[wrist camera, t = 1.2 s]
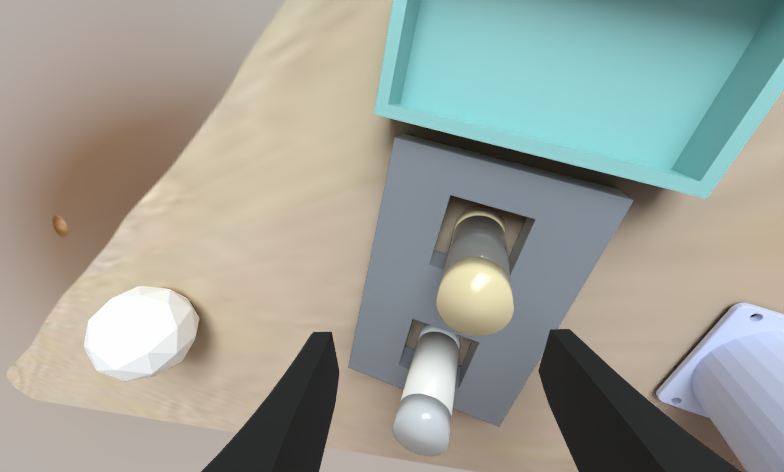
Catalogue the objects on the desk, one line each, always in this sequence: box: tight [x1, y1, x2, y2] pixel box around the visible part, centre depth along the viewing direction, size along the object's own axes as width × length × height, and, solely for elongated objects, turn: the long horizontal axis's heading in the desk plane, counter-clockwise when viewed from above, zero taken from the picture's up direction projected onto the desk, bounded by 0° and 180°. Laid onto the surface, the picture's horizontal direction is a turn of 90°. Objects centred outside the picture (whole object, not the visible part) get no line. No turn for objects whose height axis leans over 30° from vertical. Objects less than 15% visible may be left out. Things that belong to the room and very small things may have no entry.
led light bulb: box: [436, 207, 514, 336], centre depth 16 cm, size 3×3×8 cm
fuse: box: [393, 323, 461, 456], centre depth 20 cm, size 3×3×8 cm
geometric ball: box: [84, 286, 199, 381], centre depth 28 cm, size 8×8×8 cm
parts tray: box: [374, 0, 784, 199], centre depth 14 cm, size 15×8×3 cm, turn 77°
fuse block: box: [348, 133, 634, 427], centre depth 21 cm, size 12×18×2 cm, turn 167°
